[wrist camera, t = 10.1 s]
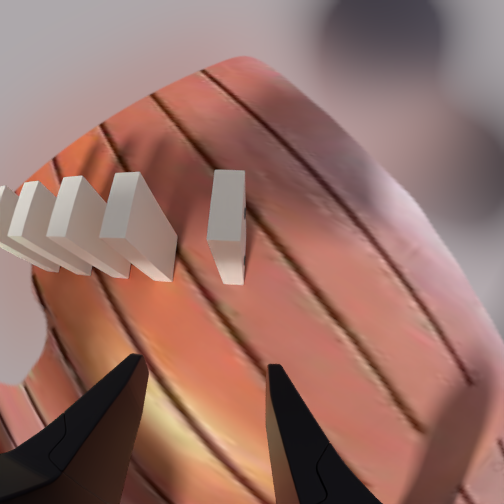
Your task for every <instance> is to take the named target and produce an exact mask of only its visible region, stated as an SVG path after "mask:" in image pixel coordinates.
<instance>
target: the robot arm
mask: <svg viewBox="0 0 504 504" xmlns="http://www.w3.org/2000/svg"><path fill="white" fill-rule="evenodd" d="M148 376H149V371H148V368H147V365H146V361H145V358H144V356H143V355H141V354H134V353H132V354H130V355H129V356H128V357H127V358H125V359H124V360H123V361H122V362H121V363H120V364H119V365H117V366H116V367H115V368H114V369H113V370H112V371H110V372H109V373H108V374H107V375H106V376H105V377H104V378H102V379H101V380H100V381H99V382H98V383H97V384H96V385H94V386H93V387H92V388H91V389H90V390H89V391H88V392H86V393H85V394H84V395H83V396H82V397H81V398H80V399H78V400H77V401H76V402H75V403H74V404H73V405H72V406H70V407H69V408H68V409H67V410H66V411H65V412H64V413H62V414H61V415H60V416H59V417H58V418H57V419H55V420H54V421H53V422H52V423H50V424H49V425H48V426H47V427H45V428H44V429H43V430H41V431H40V432H39V433H37V434H36V435H34V436H33V437H31V438H30V439H28V440H27V441H25V442H24V443H22V444H21V445H20V446H18V447H17V448H15V449H13V450H11V451H9V452H6V453H2V454H0V504H120V499H121V495H122V491H123V486H124V482H125V478H126V474H127V469H128V465H129V461H130V458H131V454H132V450H133V446H134V442H135V438H136V435H137V431H138V427H139V424H140V420H141V416H142V412H143V406H144V400H145V394H146V388H147V382H148ZM266 432H267V439H268V447H269V454H270V461H271V468H272V476H273V483H274V490H275V497H276V504H383V503H381V502H380V501H379V500H378V499H377V498H376V497H375V496H374V495H373V494H372V493H371V492H370V491H369V490H368V489H367V488H366V486H365V485H364V484H363V483H362V482H361V481H360V480H359V479H358V478H357V477H356V476H355V475H354V473H353V472H352V471H351V470H350V469H349V468H348V466H347V465H346V464H345V463H344V461H343V460H342V459H341V457H340V456H339V454H338V453H337V452H336V450H335V449H334V447H333V446H332V444H331V443H329V442H330V441H329V440H328V438H327V437H326V435H325V434H324V432H323V430H322V429H321V427H320V426H319V424H318V423H317V421H316V420H315V418H314V417H313V415H312V413H311V412H310V410H309V409H308V407H307V406H306V404H305V402H304V401H303V399H302V398H301V396H300V394H299V393H298V391H297V390H296V388H295V386H294V385H293V383H292V382H291V380H290V378H289V377H288V375H287V374H286V372H285V370H284V369H283V367H282V366H281V365H280V364H268V366H267V375H266Z"/></svg>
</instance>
